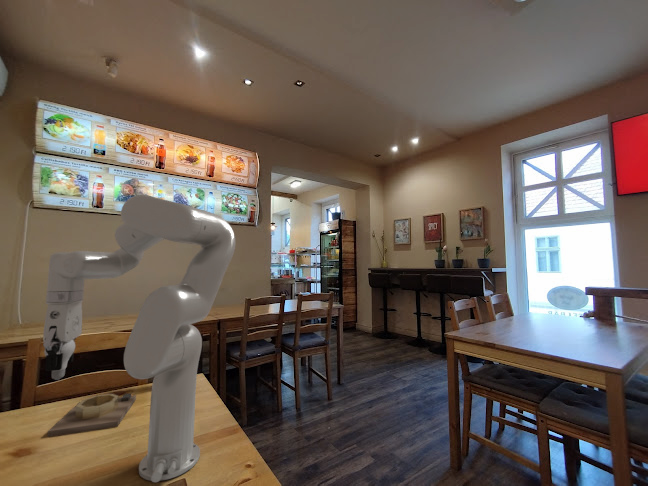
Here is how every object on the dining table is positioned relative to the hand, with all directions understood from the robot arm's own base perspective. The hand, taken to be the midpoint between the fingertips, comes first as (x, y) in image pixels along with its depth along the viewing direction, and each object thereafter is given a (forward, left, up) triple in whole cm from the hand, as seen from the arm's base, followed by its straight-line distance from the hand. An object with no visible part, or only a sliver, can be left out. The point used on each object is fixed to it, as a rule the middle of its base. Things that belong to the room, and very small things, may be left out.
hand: (59, 365), depth 77 cm
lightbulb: (0, 0, -4) cm, 4 cm away
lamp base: (+13, -5, -19) cm, 24 cm away
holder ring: (+13, -5, -18) cm, 22 cm away
